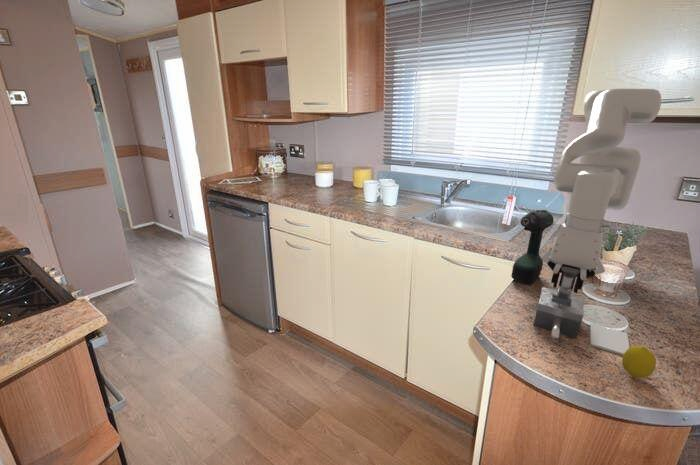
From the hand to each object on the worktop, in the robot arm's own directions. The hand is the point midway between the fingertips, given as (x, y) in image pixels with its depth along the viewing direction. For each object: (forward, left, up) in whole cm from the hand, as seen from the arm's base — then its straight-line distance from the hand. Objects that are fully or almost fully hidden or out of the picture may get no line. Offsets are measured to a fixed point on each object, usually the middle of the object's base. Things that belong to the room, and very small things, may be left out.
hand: (565, 287), depth 92 cm
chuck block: (+4, 0, -11) cm, 12 cm away
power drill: (-21, -11, -11) cm, 26 cm away
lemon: (+13, +16, -11) cm, 23 cm away
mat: (+1, +12, -11) cm, 16 cm away
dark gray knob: (0, 0, -3) cm, 3 cm away
